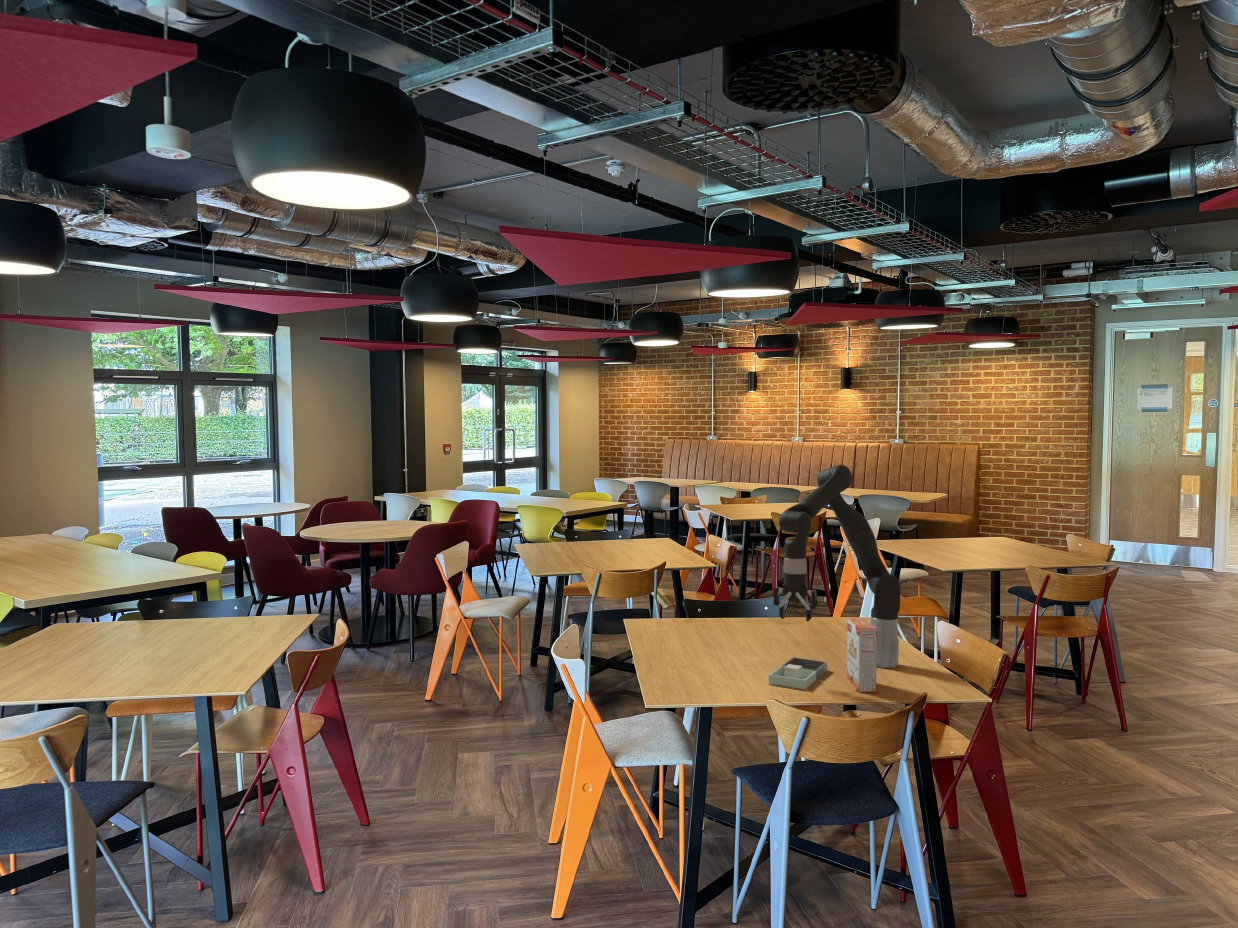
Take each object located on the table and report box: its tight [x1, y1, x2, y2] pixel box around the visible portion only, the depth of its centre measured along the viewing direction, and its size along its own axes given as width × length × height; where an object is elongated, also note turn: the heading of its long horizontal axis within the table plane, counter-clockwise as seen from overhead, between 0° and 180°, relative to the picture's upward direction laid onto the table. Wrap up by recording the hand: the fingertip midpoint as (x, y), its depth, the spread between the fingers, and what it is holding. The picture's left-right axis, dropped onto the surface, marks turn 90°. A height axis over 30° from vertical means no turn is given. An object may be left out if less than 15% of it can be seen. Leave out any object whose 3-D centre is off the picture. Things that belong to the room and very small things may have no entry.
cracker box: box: [846, 618, 877, 693], centre depth 257 cm, size 14×6×21 cm, turn 179°
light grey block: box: [785, 664, 802, 679], centre depth 259 cm, size 4×4×5 cm
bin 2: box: [781, 657, 828, 680], centre depth 270 cm, size 12×12×4 cm
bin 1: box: [768, 665, 817, 692], centre depth 259 cm, size 12×12×4 cm
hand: (795, 619), depth 262 cm, fingers open, 8 cm apart
